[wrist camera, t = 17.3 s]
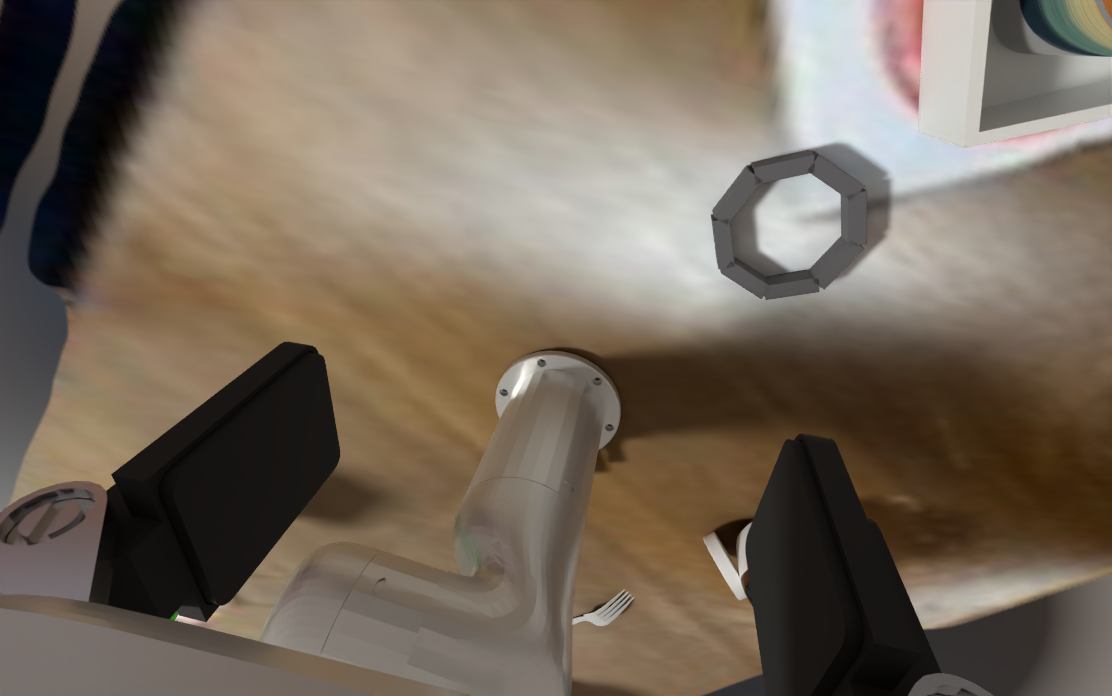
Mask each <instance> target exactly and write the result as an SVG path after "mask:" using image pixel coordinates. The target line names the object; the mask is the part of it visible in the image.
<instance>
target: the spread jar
mask: <svg viewBox="0 0 1112 696" xmlns="http://www.w3.org/2000/svg"><path fill="white" fill-rule="evenodd" d="M753 519H754V518H753ZM753 519H752V520H751V521H750V522H749V523H747V524H746V525H745V527H744V528H743V529H742V530H741V532H740V534H739V535H738V537H737V542H736V552H737V561H738V568H739V571H738V569H737V567H736V566H735V564H734V562H733V561H732V559H731V557H730V556H729V554H728V552H727V551H726V549H725V547H724V546H723V544H722V543H721V541H720V539H719V538H718V536H717V535H716V534H715V532H713V533H711V534H709V535H707V536H705V537H703V539H704V542H705V544H706V546H707V548H708V550H709V552H710V554H711V555H712V557H713V559H714V561H715V563H716V564H717V566H718V568H719V570H720V571H721V573H722V575H723V576H724V578H725V580H726V581H727V583H728V585H729V586H730V588H731V589H732V591H733V592H734V594H735V595H736V597H737V598H738V599H739V600H742V599H744V598H746V597H747V598H748V600H749V602H750V603H751V605H752V606H753V602H752V595H751V588H750V581H749V574H748V568H747V561H746V553H745V544H746V538H747V534H748V531H749V529H750V526H751V524H752V521H753Z"/></svg>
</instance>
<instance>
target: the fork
mask: <svg viewBox="0 0 1112 696" xmlns="http://www.w3.org/2000/svg"><path fill="white" fill-rule="evenodd" d="M624 591H625V589H624V590H623V591H621V592H620V593H619V594H618V595H617V596H615V597H614V598H613V599H612V600H610V601H609V602H608V603H607V604H605V605H604V606H603V607H601V608H600V609H598V610H597V611H595V612H593V613H589V614H584V617H577V618H574V619H573V624H572V625H574V624H576V623H578V622H581V621H589V622H592V623H593V624H595V625H597V626H605V625H607V624H609V623H610V622H611V621H613V620H614V619H615V618H616V617H617V616H618V615H619V614H620V613H621V612H622V611H623V610H624V609H625V608H626V607H627V606H628V605H629V604H630V603H631V601H632V600H633V599H634V598H635V597H633V598H632V599H631V600H630V601H628V602H627V603H626V604H625V605H624V606H623V607H622V608H621V609H620V610H618V611H617V612H616V613H615V614H614V615H613V616H611V615H612V614H613V613H614V612H615V611H616V610H617V609H619V608H620V607H621V606H622V605H623V604H624V603H625V602H626V600H627V599H628V598H629V597H630V596H631V595H629V596H628V597H627V598H626V599H624V600H623V601H622V602H621V603H620V604H619V605H618V606H617V607H615V606H616V605H617V604H618V603H619V602H620V601H621V600H622V599H623V598H624V597H625V596H626V595H627V594H628V593H629V592H627V593H626V594H624V595H623V596H622V597H621V598H620V599H619V600H618V601H616V602H615V603H614V604H613V605H612V606H610V605H611V604H612V603H613V602H614V601H615V600H616V599H617V598H618V597H619V596H620V595H621V594H622V593H623V592H624ZM609 606H610V607H609ZM608 607H609V608H608ZM614 607H615V608H614ZM606 608H608V609H607V610H605V609H606ZM613 608H614V609H613ZM612 609H613V610H612ZM604 610H605V611H604ZM610 610H612V611H611V612H610V613H608V612H609V611H610ZM603 611H604V612H603ZM601 612H603V613H601ZM600 613H601V614H600ZM607 613H608V614H607ZM599 614H600V615H599ZM606 614H607V615H606ZM604 615H606V616H604ZM603 616H604V617H603ZM610 616H611V617H610ZM602 617H603V618H602ZM609 617H610V618H609ZM607 618H608V619H607ZM606 619H607V620H606Z"/></svg>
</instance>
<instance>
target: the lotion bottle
mask: <svg viewBox="0 0 1112 696" xmlns="http://www.w3.org/2000/svg"><path fill="white" fill-rule="evenodd" d="M992 26H993V30H994V33H995V35H996V37H997V38H998V40H999V41H1000V42H1001V43H1002V44H1003V45H1004V46H1006V47H1007V48H1009V49H1011V50H1013V51H1016V52H1020V53H1026V54H1038V55H1067V56H1099V57H1112V0H995V2H994V5H993V10H992Z"/></svg>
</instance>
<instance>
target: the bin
mask: <svg viewBox="0 0 1112 696" xmlns="http://www.w3.org/2000/svg"><path fill="white" fill-rule="evenodd" d="M994 2H995V0H924V6H923V27H922V49H921V71H920V92H919V114H918V132H920V133H923V134H926V135H929V136H931V137H934V138H937V139H940V140H942V141H945V142H948V143H951V144H954V145H956V146H959V147H962V148H966V147H971V146H976V145H980V144H985V143H990V142H995V141H1000V140H1004V139H1009V138H1014V137H1019V136H1024V135H1028V134H1033V133H1038V132H1043V131H1047V130H1052V129H1057V128H1062V127H1067V126H1071V125H1076V124H1081V123H1086V122H1091V121H1095V120H1100V119H1105V118H1110V117H1112V57H1099V56H1067V55H1038V54H1026V53H1020V52H1016V51H1013V50H1011V49H1009V48H1007V47H1006V46H1004V45H1003V44H1002V43H1001V42H1000V41H999V40H998V38H997V37H996V35H995V33H994V30H993V26H992V10H993V5H994Z"/></svg>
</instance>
